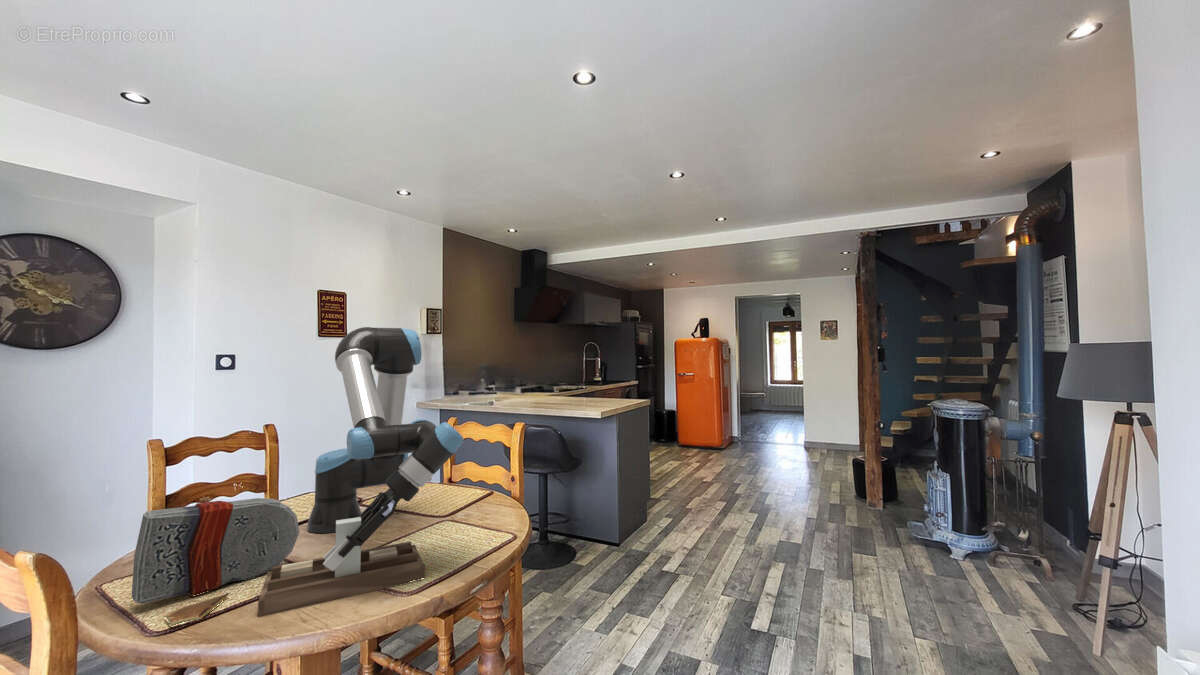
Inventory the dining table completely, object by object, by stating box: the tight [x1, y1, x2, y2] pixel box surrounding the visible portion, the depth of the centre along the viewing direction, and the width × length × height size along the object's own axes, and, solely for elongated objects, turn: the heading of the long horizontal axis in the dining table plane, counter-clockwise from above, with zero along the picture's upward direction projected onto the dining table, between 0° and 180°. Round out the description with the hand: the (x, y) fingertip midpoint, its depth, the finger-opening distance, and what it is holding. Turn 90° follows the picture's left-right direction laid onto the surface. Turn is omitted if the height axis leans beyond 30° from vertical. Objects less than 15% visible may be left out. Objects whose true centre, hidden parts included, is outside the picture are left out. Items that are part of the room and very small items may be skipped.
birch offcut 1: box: [280, 559, 313, 578], centre depth 107 cm, size 4×6×5 cm, turn 119°
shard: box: [163, 592, 230, 626], centre depth 97 cm, size 11×8×2 cm
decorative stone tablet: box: [130, 497, 300, 605], centre depth 110 cm, size 19×6×30 cm
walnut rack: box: [257, 541, 426, 617], centre depth 110 cm, size 16×32×4 cm, turn 120°
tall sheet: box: [334, 517, 362, 578], centre depth 107 cm, size 3×5×15 cm, turn 120°
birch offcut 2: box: [369, 547, 397, 561], centre depth 116 cm, size 4×6×4 cm, turn 120°
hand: (328, 564), depth 105 cm, fingers closed on tall sheet, 3 cm apart
